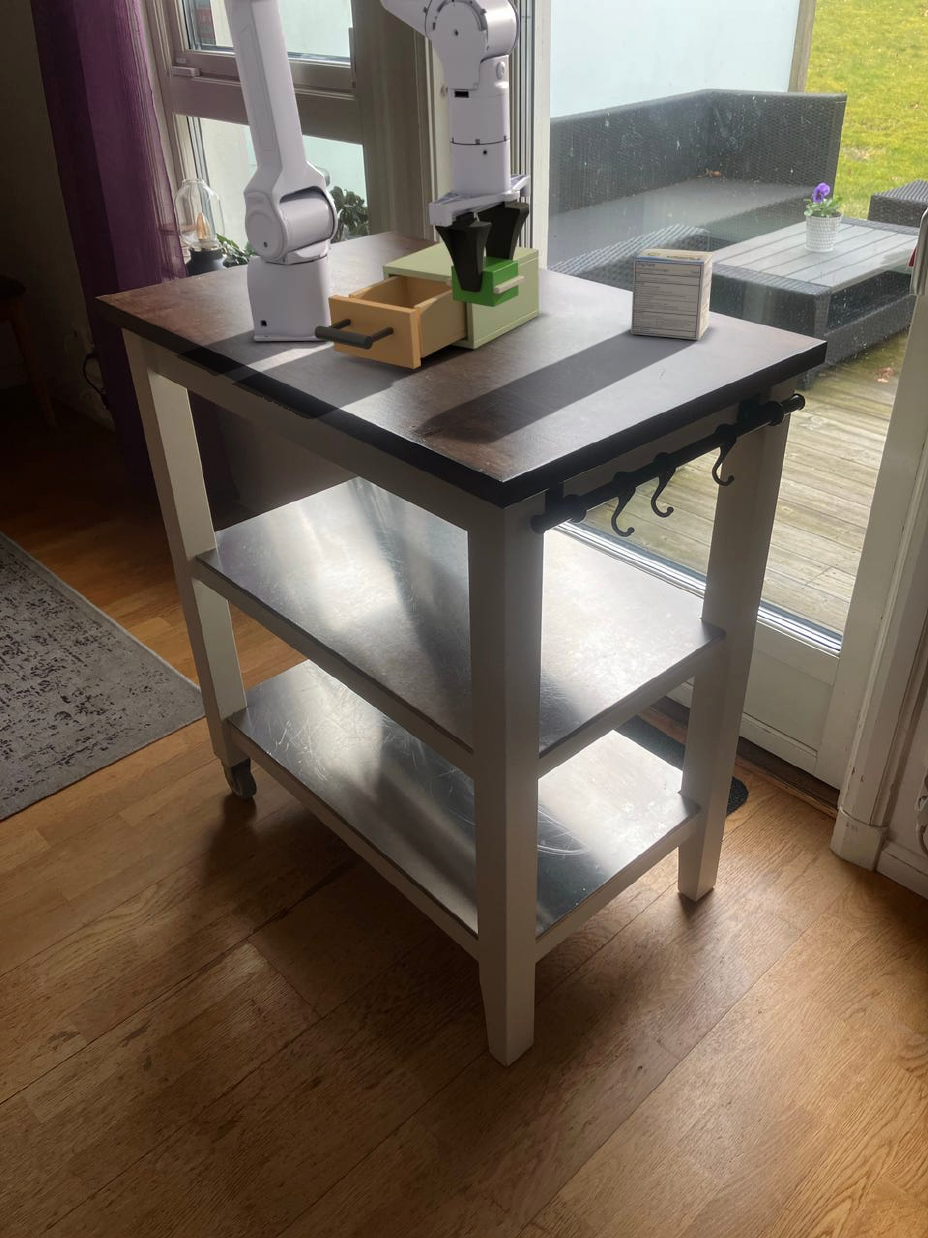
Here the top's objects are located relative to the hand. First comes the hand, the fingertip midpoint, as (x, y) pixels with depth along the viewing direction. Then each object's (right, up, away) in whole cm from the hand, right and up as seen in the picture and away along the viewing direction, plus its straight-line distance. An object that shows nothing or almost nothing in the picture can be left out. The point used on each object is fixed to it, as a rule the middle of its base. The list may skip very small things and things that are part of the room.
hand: (484, 283), depth 104 cm
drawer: (-10, -4, +9) cm, 14 cm away
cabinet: (-2, +1, +18) cm, 18 cm away
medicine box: (+21, -2, +12) cm, 24 cm away
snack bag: (0, -1, +1) cm, 1 cm away
